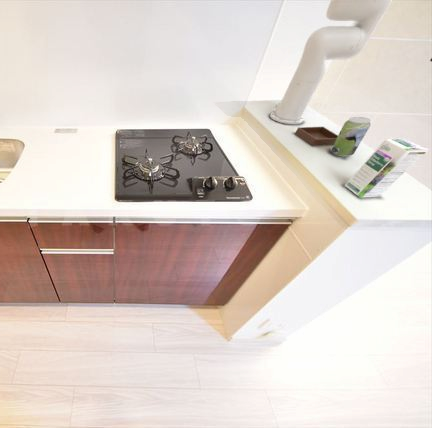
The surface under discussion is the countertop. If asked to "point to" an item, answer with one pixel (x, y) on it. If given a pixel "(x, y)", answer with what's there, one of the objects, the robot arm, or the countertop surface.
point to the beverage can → (350, 136)
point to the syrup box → (385, 167)
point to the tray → (316, 135)
